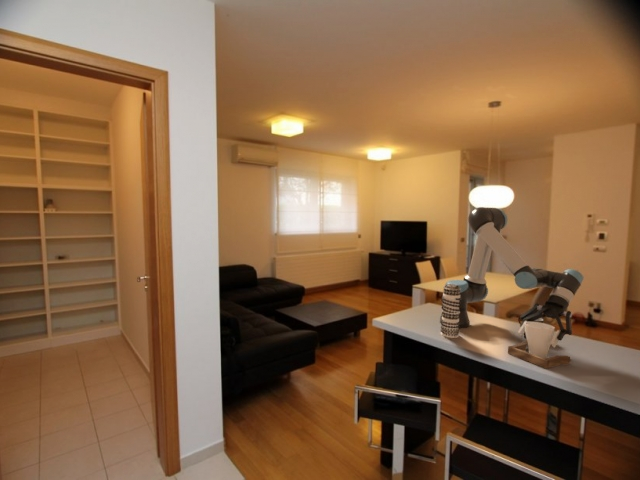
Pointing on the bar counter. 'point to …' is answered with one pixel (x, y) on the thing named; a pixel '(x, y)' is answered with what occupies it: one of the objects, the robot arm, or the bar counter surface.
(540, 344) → the cup
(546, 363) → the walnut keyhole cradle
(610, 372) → the bar counter surface
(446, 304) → the decorative candle
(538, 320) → the coffee mug
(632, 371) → the bar counter surface
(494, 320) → the bar counter surface
